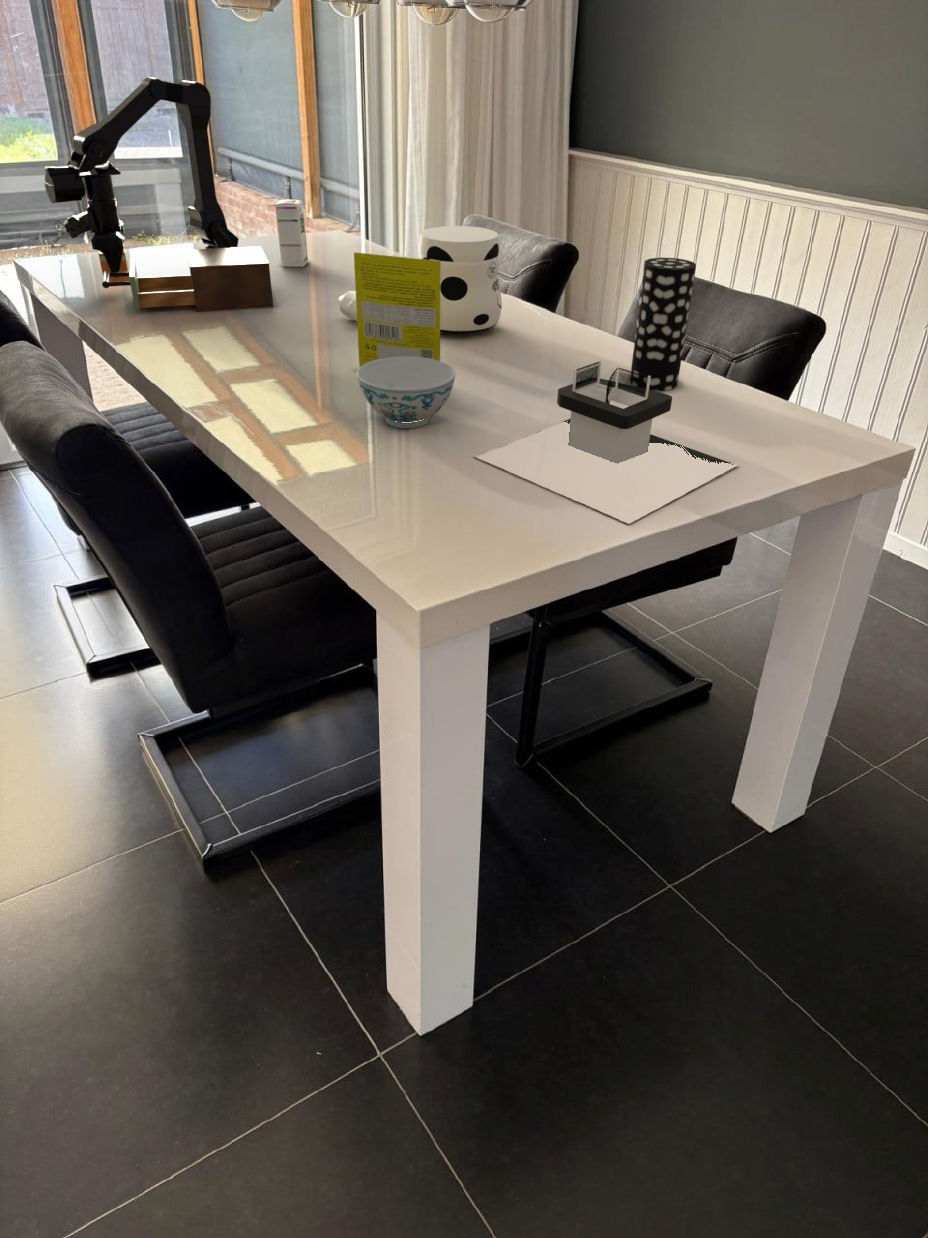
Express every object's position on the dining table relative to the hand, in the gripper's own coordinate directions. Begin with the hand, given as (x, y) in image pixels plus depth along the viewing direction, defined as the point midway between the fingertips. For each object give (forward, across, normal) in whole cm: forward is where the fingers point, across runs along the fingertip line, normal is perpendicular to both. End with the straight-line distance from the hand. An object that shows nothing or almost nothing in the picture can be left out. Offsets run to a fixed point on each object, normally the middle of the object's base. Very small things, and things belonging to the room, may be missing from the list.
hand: (116, 274), depth 200 cm
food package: (+3, +71, +48) cm, 86 cm away
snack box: (+1, 0, 0) cm, 1 cm away
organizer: (+3, +14, +24) cm, 28 cm away
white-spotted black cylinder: (+3, +85, +91) cm, 124 cm away
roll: (+3, +36, +48) cm, 60 cm away
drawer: (+2, +14, +9) cm, 17 cm away
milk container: (+3, +46, +66) cm, 81 cm away
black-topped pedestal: (+3, +114, +69) cm, 133 cm away
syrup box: (+3, -16, +42) cm, 45 cm away
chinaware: (+3, +91, +45) cm, 102 cm away
